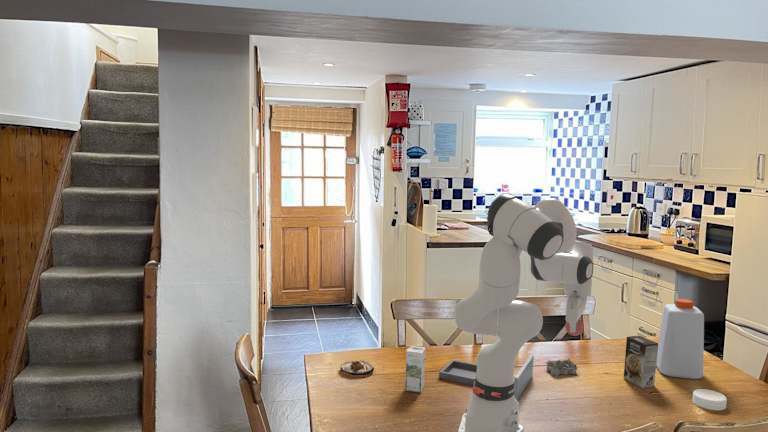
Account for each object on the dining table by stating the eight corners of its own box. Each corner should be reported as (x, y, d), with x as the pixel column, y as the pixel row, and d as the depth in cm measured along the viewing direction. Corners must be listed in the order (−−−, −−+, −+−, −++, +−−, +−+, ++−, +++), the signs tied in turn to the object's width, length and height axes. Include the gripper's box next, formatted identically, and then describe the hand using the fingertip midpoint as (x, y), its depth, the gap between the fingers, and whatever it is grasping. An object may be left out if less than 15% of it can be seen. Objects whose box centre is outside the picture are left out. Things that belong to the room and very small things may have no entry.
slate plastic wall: (516, 401, 191) (518, 378, 190) (513, 400, 192) (514, 377, 191) (532, 376, 213) (533, 355, 212) (529, 375, 213) (530, 354, 212)
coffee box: (622, 378, 213) (625, 336, 211) (636, 376, 215) (639, 334, 213) (641, 388, 204) (645, 344, 202) (655, 386, 206) (659, 342, 204)
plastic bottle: (661, 376, 215) (667, 304, 212) (652, 362, 230) (658, 294, 226) (705, 381, 212) (712, 307, 208) (694, 366, 226) (700, 297, 223)
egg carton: (552, 376, 214) (553, 366, 213) (543, 368, 221) (544, 358, 221) (579, 375, 216) (579, 364, 215) (569, 367, 223) (570, 357, 222)
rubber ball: (582, 339, 189) (583, 321, 188) (563, 336, 191) (564, 318, 191) (584, 334, 194) (585, 317, 193) (566, 331, 197) (567, 314, 196)
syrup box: (424, 386, 201) (425, 346, 199) (420, 393, 195) (422, 352, 194) (408, 384, 203) (409, 344, 201) (404, 391, 197) (405, 350, 195)
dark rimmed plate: (381, 378, 208) (381, 367, 208) (341, 382, 205) (341, 371, 204) (372, 363, 223) (372, 353, 222) (333, 366, 219) (334, 356, 218)
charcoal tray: (476, 386, 203) (476, 379, 202) (439, 378, 209) (439, 371, 208) (487, 372, 215) (487, 366, 215) (452, 365, 221) (452, 359, 221)
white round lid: (696, 395, 200) (697, 385, 199) (729, 404, 193) (730, 394, 193) (688, 404, 192) (689, 394, 192) (722, 414, 186) (723, 403, 185)
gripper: (582, 296, 180) (580, 339, 182) (591, 283, 198) (588, 322, 200) (562, 293, 183) (559, 335, 184) (572, 281, 201) (569, 319, 203)
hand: (574, 328), depth 192 cm, fingers closed on rubber ball, 6 cm apart
